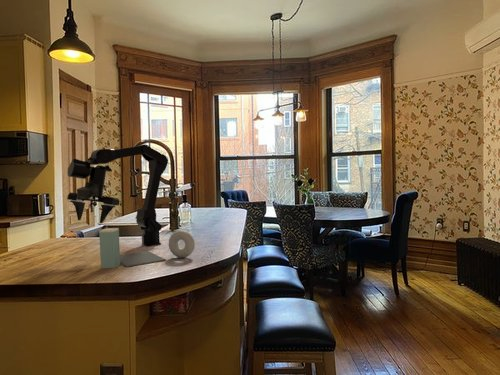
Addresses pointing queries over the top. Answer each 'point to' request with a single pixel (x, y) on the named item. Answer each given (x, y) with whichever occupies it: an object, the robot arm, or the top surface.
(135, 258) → the mat
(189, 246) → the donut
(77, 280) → the top surface
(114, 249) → the block
